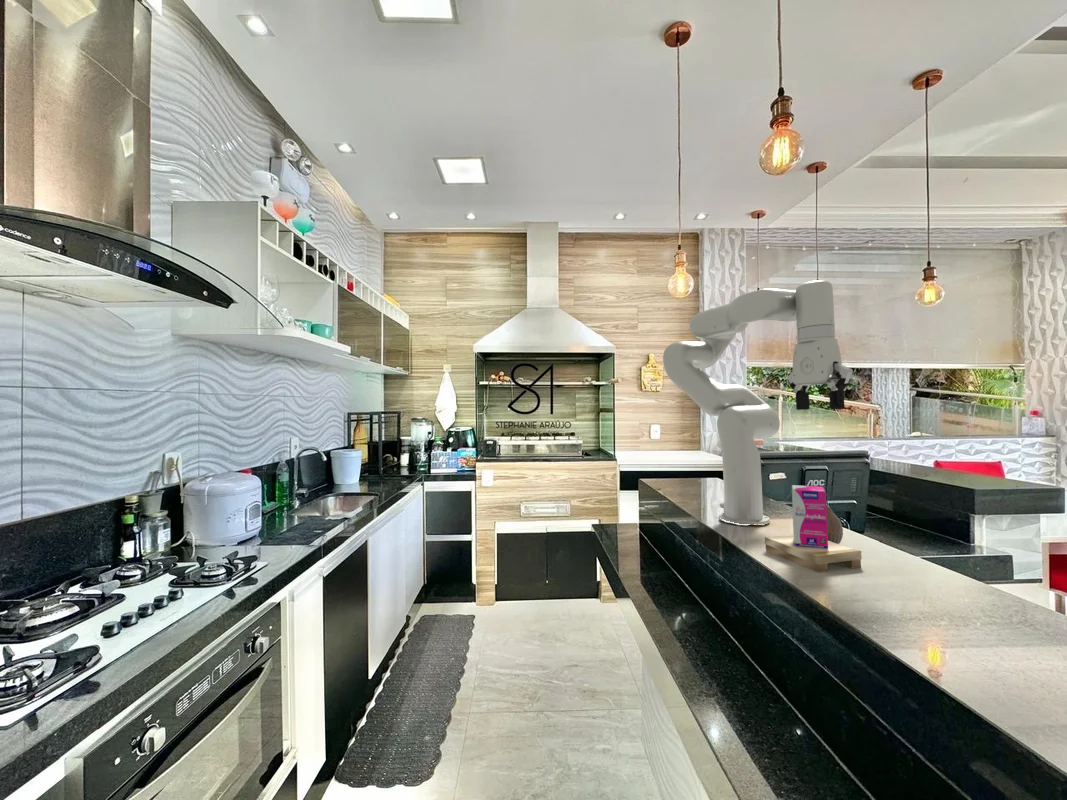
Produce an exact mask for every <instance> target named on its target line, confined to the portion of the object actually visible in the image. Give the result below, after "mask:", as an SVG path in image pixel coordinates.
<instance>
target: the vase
mask: <svg viewBox="0 0 1067 800" xmlns="http://www.w3.org/2000/svg"><path fill="white" fill-rule="evenodd" d="M826 507H827V532H828V541H830V542H833V543H837V544H840V543H841V542H842V540H843V536H844V528H843V524H842V522H841V519H840V518H839V517H838V516H837V515H836V514H835V513H834V511H833V510H832V508H831V506H829V505H828V504H826Z"/></svg>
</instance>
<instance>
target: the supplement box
mask: <svg viewBox="0 0 1067 800" xmlns="http://www.w3.org/2000/svg"><path fill="white" fill-rule="evenodd" d="M791 497H792V498H791V502H792V504H791V505H792V526H793V527H792V528H793V533H792V534H794V542H795V545H796V546H808V547H818V548H825V549H828V532H827V507H826V505H827V493H826V489H824V486H817V485H794V484H793V485H791Z"/></svg>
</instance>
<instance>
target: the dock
mask: <svg viewBox="0 0 1067 800" xmlns="http://www.w3.org/2000/svg"><path fill="white" fill-rule="evenodd" d="M764 544H765V551H766V552H768V553H770V554H773V555H775V556H778V557H781V558H782V559H784V560H787V561H790V562H792V563H795V564H797V565H800V566H802V567H805V568H806V569H809V570H811V571H813V572H817V573H824V572H825V573H826V572H828V564H832V563H836V564H840V565H842V566H845V567H848V568H850V569H858V568H859V569H860V568H861V567H862V561H861V560H862V551H861V550H859V549H856V548H851V547H848V546H845V545H842V544H840V543H839V544H837V543H833V542H830V541H828V549H825V548H818V547H808V546H796V545H795V542H794V534H793V533H791V534H781V535H780V534H779V535H771V536H764Z"/></svg>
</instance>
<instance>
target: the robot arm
mask: <svg viewBox="0 0 1067 800" xmlns="http://www.w3.org/2000/svg"><path fill="white" fill-rule="evenodd" d="M834 304H835V303H834V288H833V284H832V283H831V282H830V281H828V280H812V281H808V282H803V283H802V284H799V285H798V286H797V287H796V289H795V290H790V289H782V288H781V289H780V288H771V287H770V288H762V289H761V288H760V289H757V290H754V291H751V292H746V293H744V294H741V295H739V296H737V297H735V298H734V299H733V300H731V302H730V303H726V304H724V305H720V306H716V307H712V308H709V309H706V310H703V311H700V312H698V313H696V314H695V315H693V317H692V318H691V319H690V321H689V330H690V332H691V334H692V335H693V336H694V337H696V338H697V339H700V340H703V341H692V340H691V341H686V340H684V341H683V340H682V341H675V342H672V343H670V344H669V345H667V347H666V348H665V349H664V352H663V353H662V354H663V356H662V361H663V368H664V372H665V373H666V375H667V377H668V378H669V379H670V380H671V381H672V383H673V384H675V385H676V386H677V387H678V388H679V389H680V390H681V391H683V392H684V393H685V394H686V395H687V396H688V397H689V398H690V399H691V400H692V401H693V402H694V403H695V404H696V405H697V406H698V407H699V408H700V409H701V410H703V412H704V413H705V414H707V415H709V416H710V417H711V416H712V417H717V421H716V427H717V433H718V435H719V439H720V440H719V441H720V446H721V453H722V455H721V456H722V457H721V458H722V473H723V475H722V476H723V478H722V479H723V494H724V496H723V498H724V501H723V502H721V503H719V508H721V509H723V513H720V514H719V515H718V518H719V517H720V518H721V519H724V520H726V521H730V522H734V523H739V524H750V525H754V524H757V525H758V524H766V523H768V522H770V520H771V519H770V517H769V516H767V515H764V508H763V505H764V504H763V491H762V490H763V483H762V465H761V454H760V451H759V449H758V446H757V444H756V442H755V440H764V439H768V438H772V437H774V436H775V435H776V434H777V433H778V432H779V430H780V427H781V425H780V418H779V416H778V414H777V412H776V411H775V410H774V408H772V407H771V406H770V405H769V404H768V403H767V402H766V401H765V400H763V398H761V397H759V396H758V395H757V394H756V393H754V392H753V391H752V390H751V389H749V388H748V387H746V386H745V385H744V386H743V385H740V384H737V383H736V384H734V383H733V384H731V383H729V384H728V383H727V384H725V383H720V382H718V381H716V380H715V379H713V378H712V377H711V376H710V375H708V373H706V372H705V371H703V370H701V369H707V368H710V367H713V366H714V365H715V364H716V363H717V362H718V361H719V359H720V358H721V357H722V355H723V353H724V352H725V351H726V350H727V348H728V347H729V345H730V344H731V342H732V341H733V340H734V338H735V336H736V335H737V334H738V333H739V334H740V333H742V332H743V331H745V330H746V328H747V327H748V325H749V323H752V322H757V321H764V320H766V321H777V322H795V323H796V336H795V338H796V340H797V343H795V345H794V349H793V355H792V373H790V374H789V375H788V376H787V380H788V383H789V385H790V389H792V390H793V394H795V407H796V408H795V409H796V410H797V411H800V410H801V411H804V410H806V411H807V410H810V408H811V407H810V393H809V392H808V390H809V388H810V387H811V386H813V385H814V386H815V385H827V386H828V387H829V389H831V390H829V391H828V393H829V409H831V410H843V409H845V393H844V392H845V391H846V390H847V386H849V384H850V382H851V378H852V376H853V372H854V371H853V369H852V368H850V367H847V366H846V365H844V364H843V363H842V356H841V355H842V354H841V350H840V347H839V346H840V345H839V342H838V339H837V338H836V327H835V305H834ZM770 523H771V522H770Z"/></svg>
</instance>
